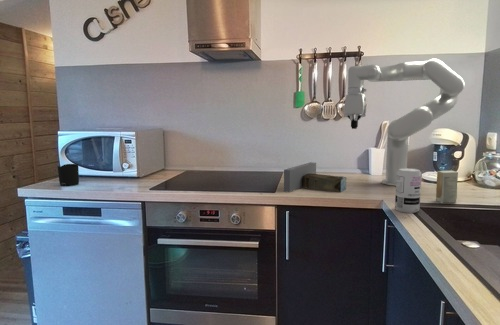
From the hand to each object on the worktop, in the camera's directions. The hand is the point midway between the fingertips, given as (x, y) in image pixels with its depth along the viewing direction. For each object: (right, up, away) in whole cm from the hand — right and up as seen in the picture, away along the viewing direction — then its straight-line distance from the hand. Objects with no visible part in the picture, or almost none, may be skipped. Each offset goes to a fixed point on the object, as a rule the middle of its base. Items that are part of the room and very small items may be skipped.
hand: (354, 128), depth 182 cm
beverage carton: (-18, -30, -13) cm, 37 cm away
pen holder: (-144, -29, +1) cm, 147 cm away
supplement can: (+4, -35, -51) cm, 62 cm away
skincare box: (+25, -33, -39) cm, 57 cm away
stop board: (-28, -29, -8) cm, 41 cm away
